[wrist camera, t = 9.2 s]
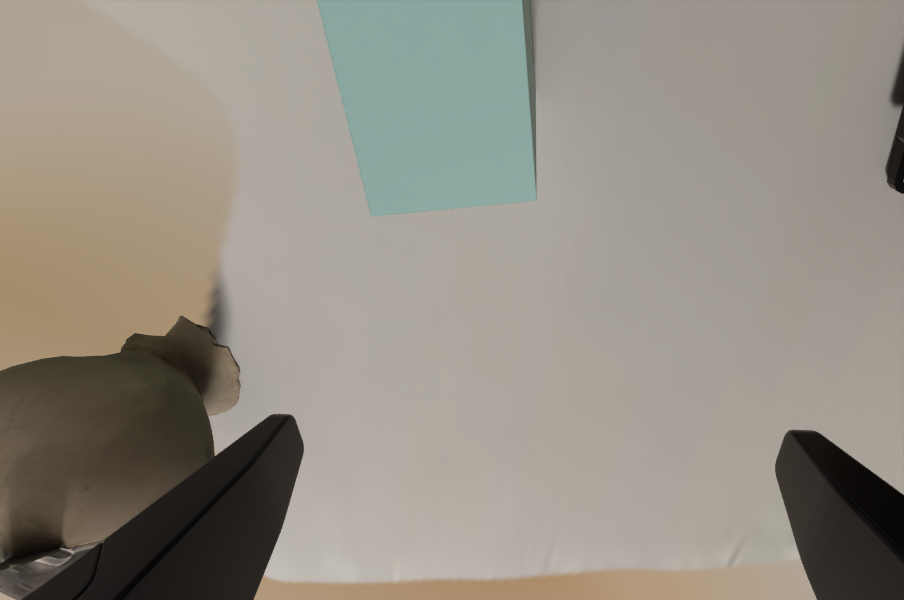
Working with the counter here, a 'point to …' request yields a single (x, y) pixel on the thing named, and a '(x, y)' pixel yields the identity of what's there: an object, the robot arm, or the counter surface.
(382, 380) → the counter surface
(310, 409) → the counter surface
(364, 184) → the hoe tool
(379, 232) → the counter surface
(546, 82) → the counter surface
